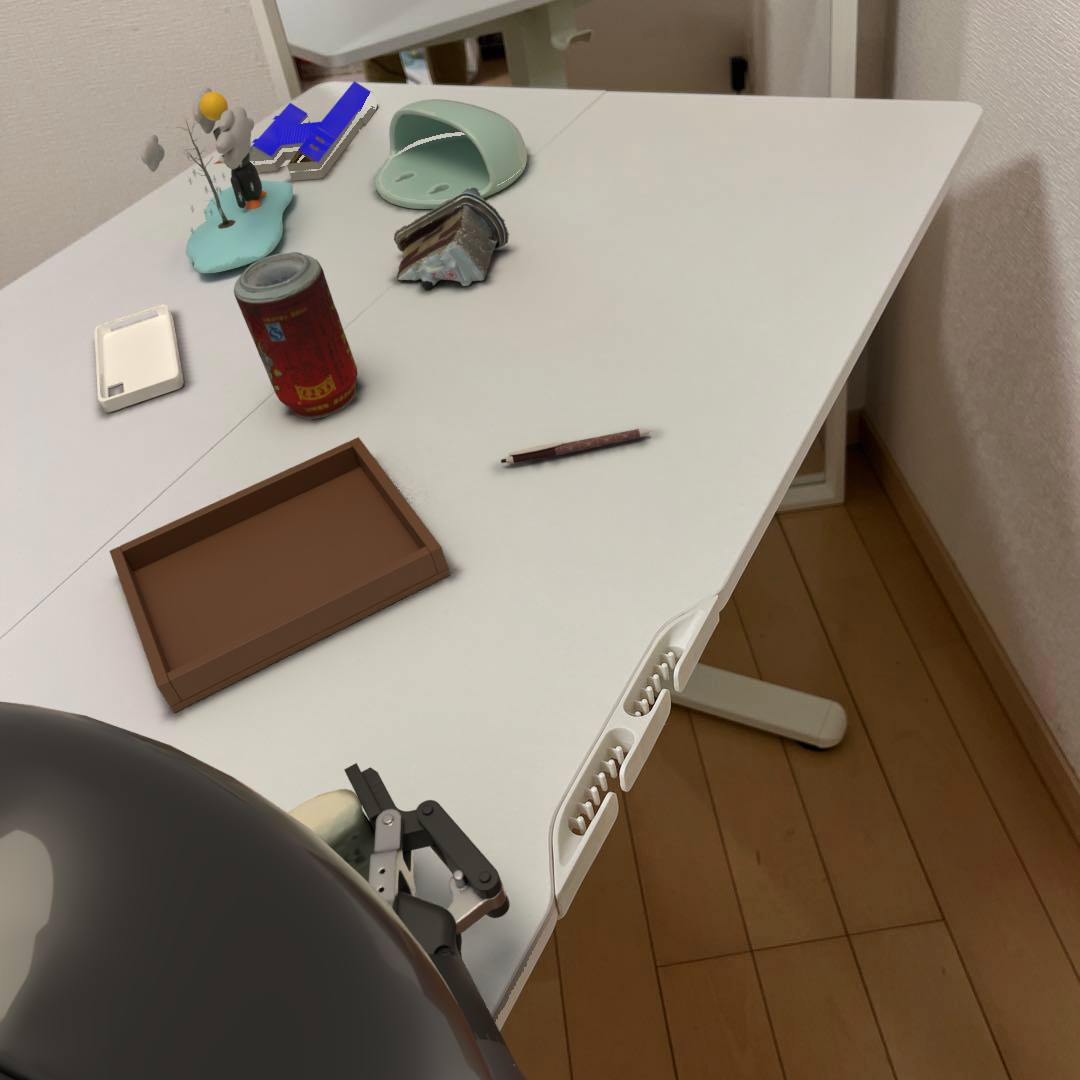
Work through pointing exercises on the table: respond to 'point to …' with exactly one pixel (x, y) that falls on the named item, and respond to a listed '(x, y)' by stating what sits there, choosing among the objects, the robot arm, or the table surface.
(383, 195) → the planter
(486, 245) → the chocolate cake
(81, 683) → the table surface
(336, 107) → the building model
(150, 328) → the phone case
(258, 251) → the penguin figurine
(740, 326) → the table surface
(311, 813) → the cream and green block
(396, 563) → the tray
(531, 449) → the pen
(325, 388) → the soda can
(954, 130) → the table surface
